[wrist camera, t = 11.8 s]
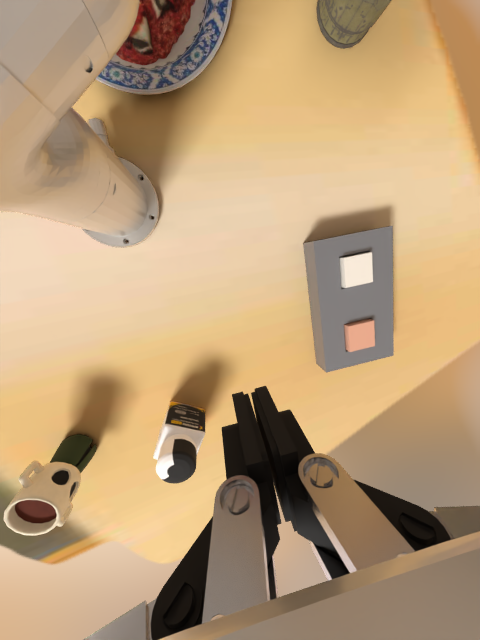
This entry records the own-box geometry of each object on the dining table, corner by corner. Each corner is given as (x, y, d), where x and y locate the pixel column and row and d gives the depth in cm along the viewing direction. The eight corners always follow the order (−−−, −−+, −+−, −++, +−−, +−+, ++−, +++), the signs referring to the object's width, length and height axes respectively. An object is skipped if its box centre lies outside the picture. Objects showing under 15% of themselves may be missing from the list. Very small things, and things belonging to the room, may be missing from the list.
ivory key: (334, 258, 41) (343, 258, 38) (360, 252, 41) (372, 252, 38) (336, 286, 42) (345, 288, 39) (361, 280, 43) (372, 282, 40)
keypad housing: (303, 243, 41) (313, 241, 38) (375, 228, 43) (392, 225, 39) (316, 363, 48) (326, 372, 44) (378, 347, 49) (393, 355, 45)
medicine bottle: (205, 408, 47) (205, 456, 35) (194, 437, 48) (191, 493, 37) (170, 400, 45) (158, 447, 34) (160, 430, 47) (145, 486, 35)
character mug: (111, 459, 47) (77, 531, 34) (77, 473, 46) (30, 551, 34) (83, 416, 44) (33, 479, 31) (46, 431, 43) (-19, 500, 31)
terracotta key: (339, 322, 44) (348, 326, 41) (363, 316, 45) (374, 320, 42) (340, 346, 46) (349, 352, 43) (364, 340, 46) (374, 345, 43)
